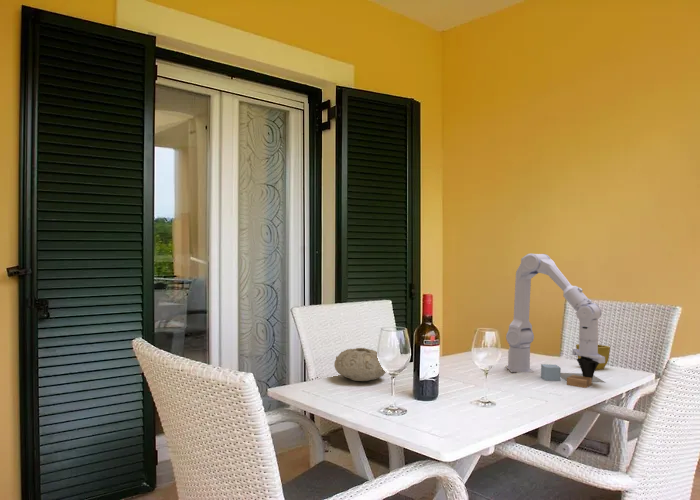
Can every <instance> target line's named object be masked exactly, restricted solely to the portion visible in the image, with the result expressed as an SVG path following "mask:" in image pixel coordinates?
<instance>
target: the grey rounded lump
mask: <svg viewBox="0 0 700 500" xmlns="http://www.w3.org/2000/svg"><path fill="white" fill-rule="evenodd" d="M377 352H378V351H376V350H374V349H369V348H365V347H356V348H348V349H345V350H343V351H341V352H340V353H339V354H338V355H337V356H336V357H335V359H334V360H335V361H334V364H333V365H334V367H333V368H334V369H335V371H336V372H337V373H338V374H339V375H340V376H341V377H344V378H348V379H349V380H352V381H355V382H367V381H373V380H378V379H379V378H382V377H383V376H385V374H386V373H387V371H386V372H385V371H384V370H383V368H382V367H381V365H380V363H379V361H378V358H377Z"/></svg>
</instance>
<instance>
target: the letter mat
mask: <svg viewBox="0 0 700 500" xmlns="http://www.w3.org/2000/svg"><path fill="white" fill-rule="evenodd" d="M572 375H577V376H583V374H582V372H581V373H578V372H577V373H576V372H560V379H562V380H564V381H566V382H567V378H568V377H570V376H572ZM592 383H604V384H605V383H607V382H606V381H605V380H603V379H600V377H598V376H596V375H593V378H592Z"/></svg>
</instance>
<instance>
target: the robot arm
mask: <svg viewBox="0 0 700 500" xmlns="http://www.w3.org/2000/svg"><path fill="white" fill-rule="evenodd" d="M538 274H544V275H546V276H548V277H549V278H550V279H551V280H552V281H553V282H554V283H555V284H556V285H557V287H559V289H560V290H562V293H563V295H562V296H563V297H564V299H565V300H566V302H567V303H568V304H569V305H571V307H572V308H573V309H574V310H575V315H576V317H577V319H578V321H579V325H578V326H579V329H578V331H579V332H578V334H579V336H578V344H579V349H576V348H572V355H573V356H577V357H578V356H581V358H580V359H578V358H577V359H576V361H577V363H578V365H579V367H580V370H581V373H582V374H583V377H590V378H593V375H594V374H595V371H596V370H595V369H596V367H597V366H598V364H599V363H605V357H603V356H601V355H600V354H598V345H599V319H600V318H601V316H602V310H601V307H600V305H599V304H597V303H594V302H593V300H592V299H590V298H588V296H587V295H586V294H585V293H584V292H583V291H584V289H582V287H579V286H578V285H572V283H570V282H569V280H568V278H567V277H566V276H565V275H564V273H563V272H561V270H560V269H559V268H558V266H557V265H556V263H555V261H554V260H553V259H551V257H550V255H548V254H546V253H527V254H526V255H524V256H523V257H522V258H521V259H520V264H519V266H518V267H517V269H516V272H515V283H514V285H515V286H514V303H513V305H514V306H513V320H512V321H510V324H508V330H507V332H506V334H505V335H506V336H505V339H506V342H507V344H508V346H509V348H508V351H507V354H508V355H507V356H508V357H507V365H505V368H506V369H507V370H508V371H509V372H511V373H534V371H533V370H532V369H530V368H531V344H532V342H533V341H534V339H535V335H534V331H533V325H532V323H531V322H530V308H531V307H530V303H531V286H532V278H534V277H535V276H537V275H538ZM594 376H595V375H594Z"/></svg>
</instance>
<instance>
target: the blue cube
mask: <svg viewBox="0 0 700 500" xmlns="http://www.w3.org/2000/svg"><path fill="white" fill-rule="evenodd" d="M561 370H562V369H561V367H560V366H558V365H557V364H546V363H543V364H540V378H541V379H543V380H544V381H546V382H548V381H549V382H550V381H551V382H560V381H561V377H560V373H561Z"/></svg>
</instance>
